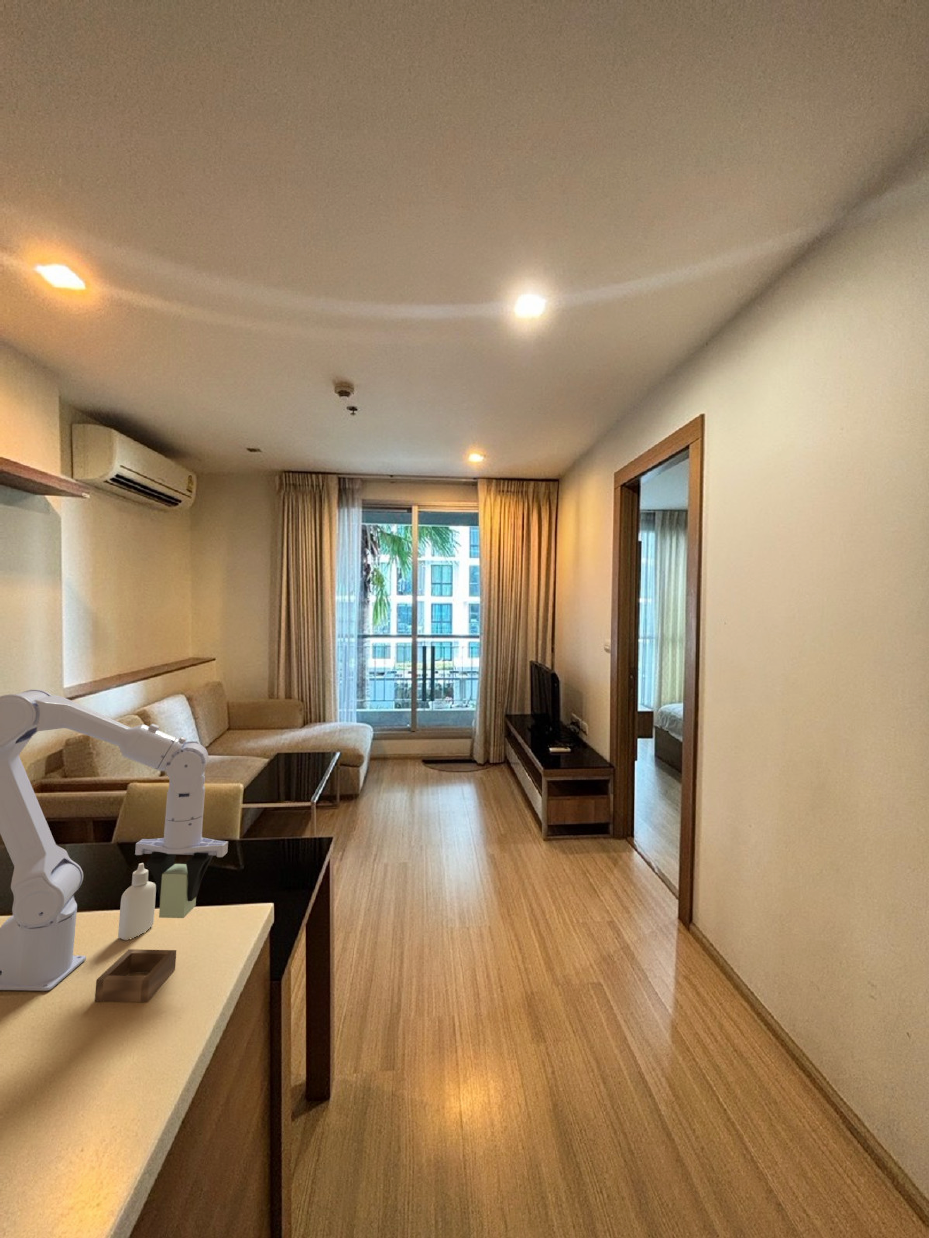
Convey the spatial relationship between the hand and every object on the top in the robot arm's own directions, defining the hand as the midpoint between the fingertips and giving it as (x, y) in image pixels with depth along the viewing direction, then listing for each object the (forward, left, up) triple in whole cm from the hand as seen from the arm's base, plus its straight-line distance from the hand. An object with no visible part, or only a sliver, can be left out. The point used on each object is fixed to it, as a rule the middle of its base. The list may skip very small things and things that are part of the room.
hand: (178, 897), depth 86 cm
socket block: (-1, -8, -9) cm, 12 cm away
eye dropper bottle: (-10, +6, -9) cm, 15 cm away
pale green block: (0, 0, -2) cm, 2 cm away
